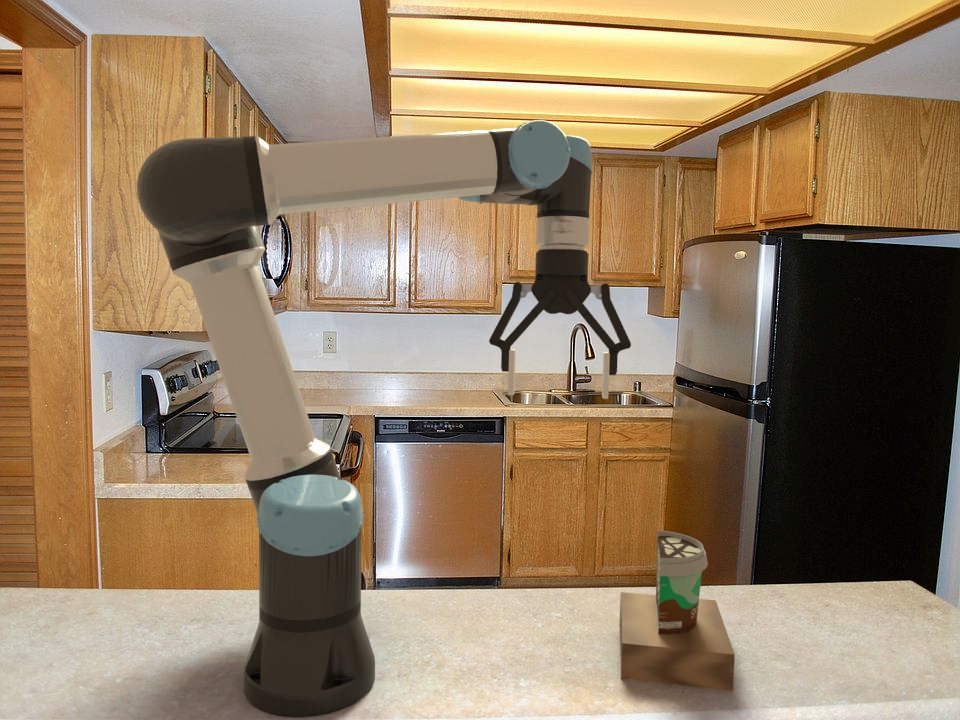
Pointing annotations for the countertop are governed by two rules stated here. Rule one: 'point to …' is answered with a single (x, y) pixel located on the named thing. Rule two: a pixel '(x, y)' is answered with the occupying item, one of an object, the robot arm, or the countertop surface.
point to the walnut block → (674, 646)
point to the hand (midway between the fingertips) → (557, 396)
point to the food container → (678, 581)
